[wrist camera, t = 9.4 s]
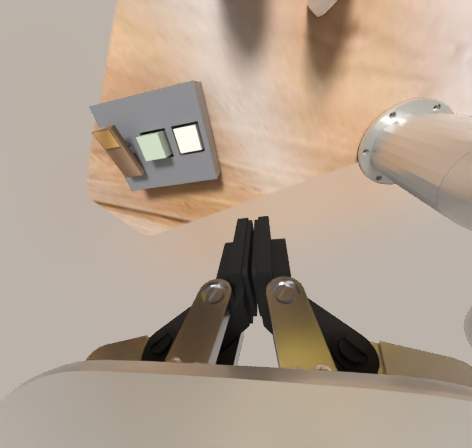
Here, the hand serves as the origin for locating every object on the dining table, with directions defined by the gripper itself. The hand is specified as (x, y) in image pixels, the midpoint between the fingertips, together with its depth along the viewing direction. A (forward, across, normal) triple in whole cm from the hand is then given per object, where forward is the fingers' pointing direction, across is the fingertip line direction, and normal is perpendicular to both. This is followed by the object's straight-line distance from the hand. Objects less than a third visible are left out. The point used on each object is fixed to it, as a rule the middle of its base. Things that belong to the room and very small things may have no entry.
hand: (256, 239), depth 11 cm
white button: (+26, +11, -3) cm, 28 cm away
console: (+27, +16, -3) cm, 32 cm away
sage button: (+24, +16, -3) cm, 30 cm away
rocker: (+21, +22, -3) cm, 31 cm away
